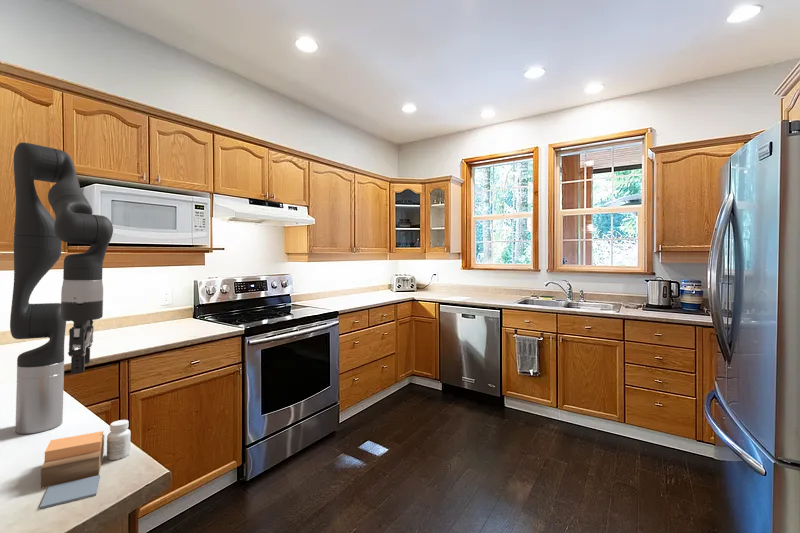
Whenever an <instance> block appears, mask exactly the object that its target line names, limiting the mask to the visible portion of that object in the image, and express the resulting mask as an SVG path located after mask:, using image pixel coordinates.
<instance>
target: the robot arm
mask: <svg viewBox="0 0 800 533" xmlns="http://www.w3.org/2000/svg"><path fill="white" fill-rule="evenodd" d="M13 176H14V177H13V178H14V192H15V213H14V227H13V228H14V229H13V232H14V233H13V288H12V289H13V290H12V299H11V306H10V308H11V309H10V319H9V320H10V321H9V328H10V329H9V330H10V331H9V332H10V335H11V337H12V338H13V339H15V340H30V339H43V338H45V339H46V338H49V340H48V341H47V342H46V343H44V344H42V345H40V346H38V347H35V348H34V349H33V348H32V349H31V350H26V351H23V352H21V353H19V355H18V356H17V360H16V393H15V394H16V395H15V398H16V399H15V429H14V430H15V433H16V434H23V435H24V434H36V433H42V432H46V431H49V430H51V429H52V430H53V429H55V428H57V427H59V426H61V425H62V424H63V417H64V412H63V411H64V387H65V386H64V383H65V381H64V378H65V339H66V338H65V336H66V328H67V322H73V324H72V326H71V328H69V330H68V335H69V338H68V339H69V340H68V352H67V355H68V357H70V358H71V361H70V363H71V364H70V365H71V366H70V372H71V374H73V375H74V374H82V373H84V372H85V365H87V364H89V363H90V362H91V348H92V346H93V342H94V329H95V327H94V321H95V320H100V319H102V318H103V313H104V311H103V309H104V284H103V269H104V268H103V265H104V259H105V256H106V253H107V250H108V248H109V244H110V242H111V240H112V237H113V233H114V226H113V223H112V222H111V220H110V218H108V217H107V216H105V215H99V214H93V209H92V208H93V207H92V206H91V204H90V202H89V201H88V199H87V198H86V196H85V194H84V192H82V189H81V187H80V182H79V178H78V174H77V171H76V168H75V165H74V162H73V159H72V157H71V156H70V155H69V153H67V152H66V151H64V150H62V149H58V148H53V147H49V146H43V145H40V144H34V143H29V142H19V143H18V144H17V145H16V146H15V149H14V152H13ZM35 181H41V182H46V183H53V185H52V186H51V187H50V189H49V190H48V192H47V200H48V203H49V205H50V206H51V209H52V210H53V213H54V217H53V216H52V215H51V213H50V212H49V211H48V209H47V208H46V207H45V205H44V204H43V203H42V201H41V199H40V197H39V195H38V192H37V190H36V186H35ZM54 218H55V219H54ZM62 242H63V243H68V244H81V245H82V244H83V245H90V246H89V247H88V249H87V250H86V251H85V252H80V253H79V252H78V253H72V254H67V255H66V256H65V257H64V258H63V274H62V278H63V280H62V284H61V285H62V286H61V295H60V297H61V298H60V300H61V302H53V303H51V302H49V303H47V302H46V303H29V302H30V298H31V295H32V293H33V291H34V290H35V288H36V287H37V285H38V284H39V283H40V281H41V280H42V278H44V276H45V275H46V274H47V273H48V272H50V270H51V269H52V268H53V267H54V266H55V264H56V263H57V262H58V261H59V259H60V258H61V255H62Z"/></svg>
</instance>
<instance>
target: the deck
mask: <svg viewBox="0 0 800 533" xmlns="http://www.w3.org/2000/svg"><path fill="white" fill-rule="evenodd" d="M104 452H105V434H103V442H102V447H101V451H96V452H91V453H86V454H81V455H76V456H71V457H66V458H61V459H55V460H50V461H45V460H44V462H43V464H42V466H41V467H40V468H41V469H40V489H44V488H48V487H49V486H53V485H57V484H62V483H66V482H71V481H75V480H80V479H84V478H89V477H93V476H97V475H100V471H101V466H102V461H103V458H102V457H104Z"/></svg>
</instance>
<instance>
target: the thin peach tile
mask: <svg viewBox="0 0 800 533" xmlns="http://www.w3.org/2000/svg"><path fill="white" fill-rule="evenodd" d="M103 435H104V430H101V431H97V432H90V433H85V434H78V435H73V436H67V437H61V438H55V439H50V441H49V443H48V445H47V446H46V449H45V451H44V462H45V461H50V460H55V459H61V458H66V457H71V456H76V455H81V454H86V453H91V452H96V451H101V447H102V442H103Z"/></svg>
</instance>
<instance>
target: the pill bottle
mask: <svg viewBox="0 0 800 533" xmlns="http://www.w3.org/2000/svg"><path fill="white" fill-rule="evenodd" d="M109 431H110V432H108V434H107V436H106V438H107V439H106V459H108V460H109V459H110V460H111V461H116V460H115V459H117V460H121V459H124V458H126V457H127V456H129V455H130V453H131V436H132V434H131V430H130V429H129V420H128V419H120V420H115V421H113V422H110V424H109ZM120 458H121V459H120Z"/></svg>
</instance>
